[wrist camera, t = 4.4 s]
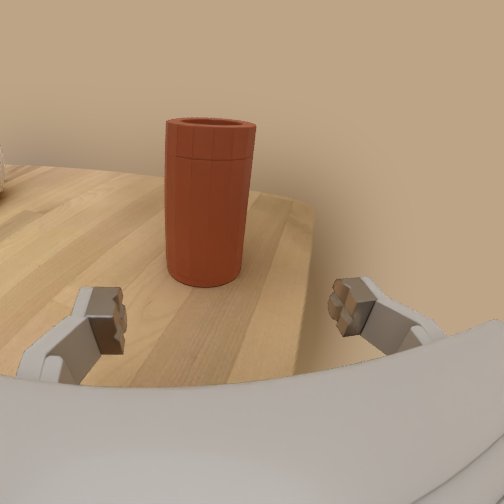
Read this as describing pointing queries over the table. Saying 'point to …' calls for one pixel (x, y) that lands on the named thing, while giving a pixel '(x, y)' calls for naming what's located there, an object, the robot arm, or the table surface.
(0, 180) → the stomach
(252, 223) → the table surface
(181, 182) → the jar
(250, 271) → the table surface
